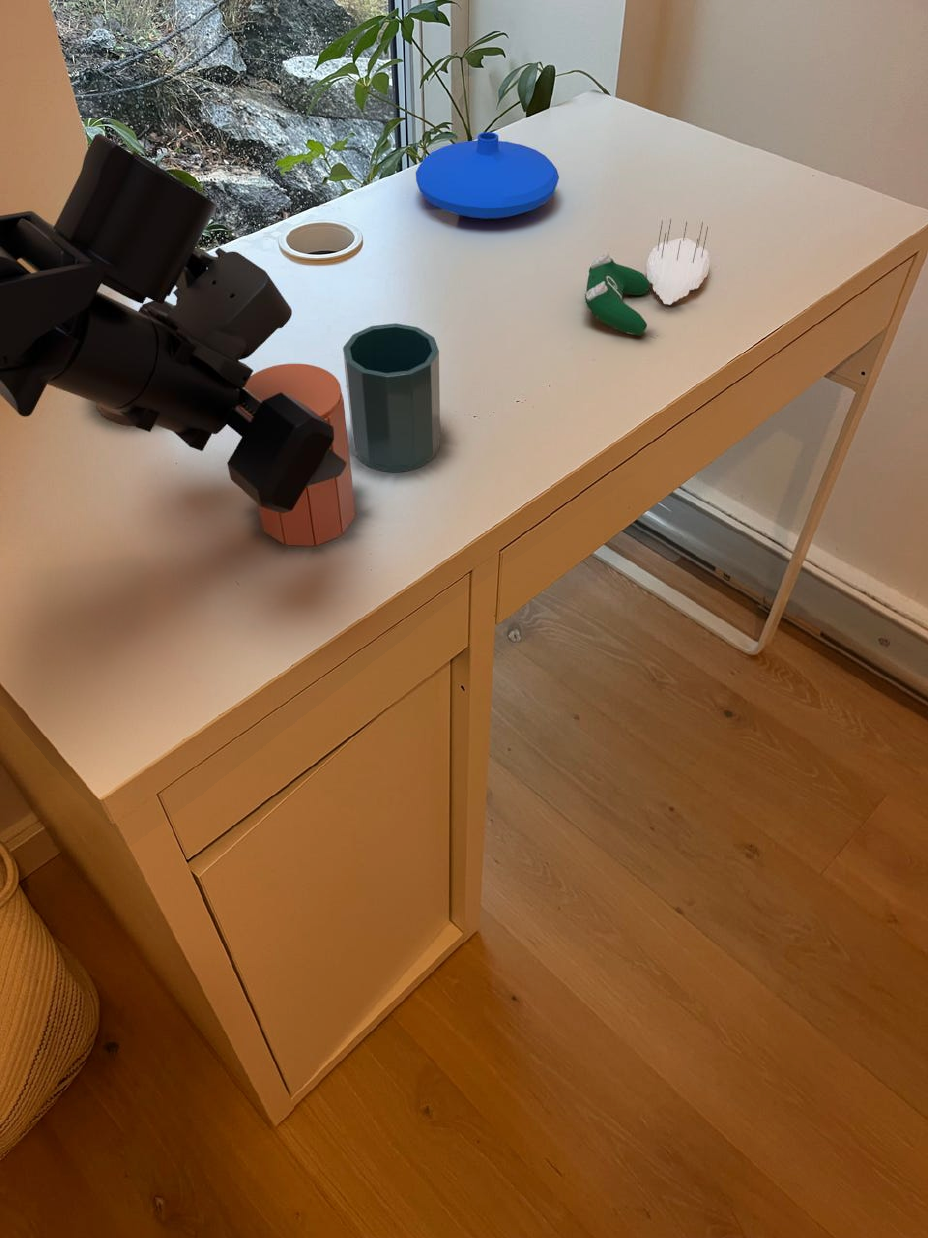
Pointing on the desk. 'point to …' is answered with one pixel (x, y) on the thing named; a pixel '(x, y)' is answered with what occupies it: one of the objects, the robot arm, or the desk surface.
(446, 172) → the vase
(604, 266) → the green christmas stockings
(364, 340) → the teal cup
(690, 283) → the pincushion
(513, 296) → the desk surface
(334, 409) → the fluted orange cylinder
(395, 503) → the desk surface
